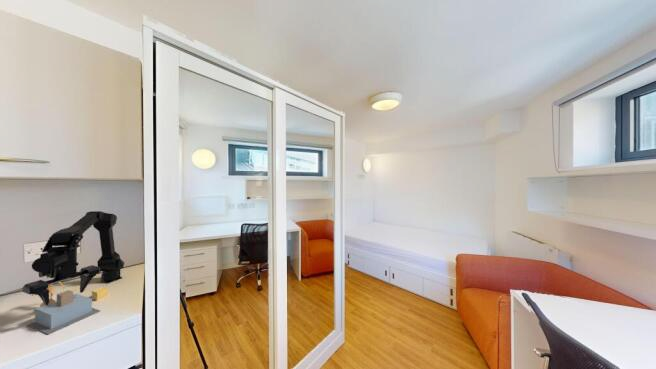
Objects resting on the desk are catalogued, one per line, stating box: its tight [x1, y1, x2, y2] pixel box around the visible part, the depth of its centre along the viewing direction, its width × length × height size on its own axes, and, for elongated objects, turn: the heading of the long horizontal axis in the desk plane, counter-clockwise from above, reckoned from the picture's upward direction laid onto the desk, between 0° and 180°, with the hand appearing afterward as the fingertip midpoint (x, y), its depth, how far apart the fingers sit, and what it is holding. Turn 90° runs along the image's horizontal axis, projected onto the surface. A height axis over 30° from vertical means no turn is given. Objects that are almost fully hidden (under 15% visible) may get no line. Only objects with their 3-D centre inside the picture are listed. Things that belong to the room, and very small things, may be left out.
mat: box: [27, 307, 101, 336], centre depth 82 cm, size 14×14×1 cm
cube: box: [91, 286, 109, 302], centre depth 96 cm, size 4×4×4 cm
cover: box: [34, 289, 93, 329], centre depth 82 cm, size 11×11×10 cm
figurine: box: [31, 282, 65, 307], centre depth 87 cm, size 8×6×12 cm
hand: (65, 298), depth 82 cm, fingers open, 9 cm apart
